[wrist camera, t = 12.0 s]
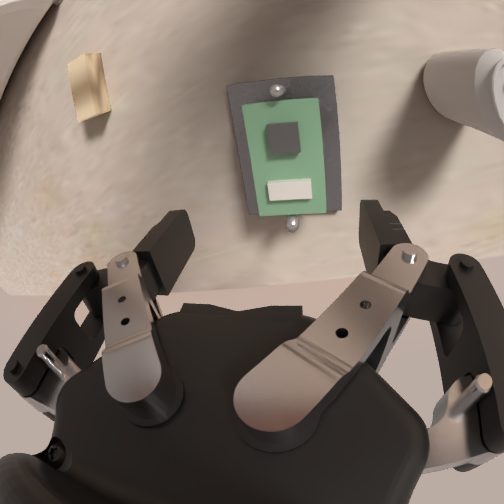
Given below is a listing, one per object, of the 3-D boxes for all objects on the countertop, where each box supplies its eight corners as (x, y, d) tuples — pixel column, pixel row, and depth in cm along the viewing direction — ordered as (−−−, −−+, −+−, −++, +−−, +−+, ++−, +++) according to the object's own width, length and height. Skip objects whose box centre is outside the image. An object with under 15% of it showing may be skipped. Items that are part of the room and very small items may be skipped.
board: (245, 104, 21) (239, 106, 19) (317, 97, 19) (318, 98, 17) (261, 209, 26) (258, 220, 24) (325, 206, 25) (327, 217, 23)
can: (443, 131, 21) (511, 167, 11) (406, 71, 19) (470, 69, 9) (484, 102, 18) (556, 126, 8) (451, 43, 15) (522, 37, 5)
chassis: (229, 85, 23) (208, 86, 18) (332, 75, 21) (341, 72, 16) (250, 210, 31) (238, 241, 25) (340, 206, 29) (348, 237, 23)
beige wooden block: (83, 62, 22) (67, 64, 20) (100, 53, 22) (84, 53, 19) (94, 117, 27) (78, 122, 24) (111, 110, 26) (95, 114, 23)
